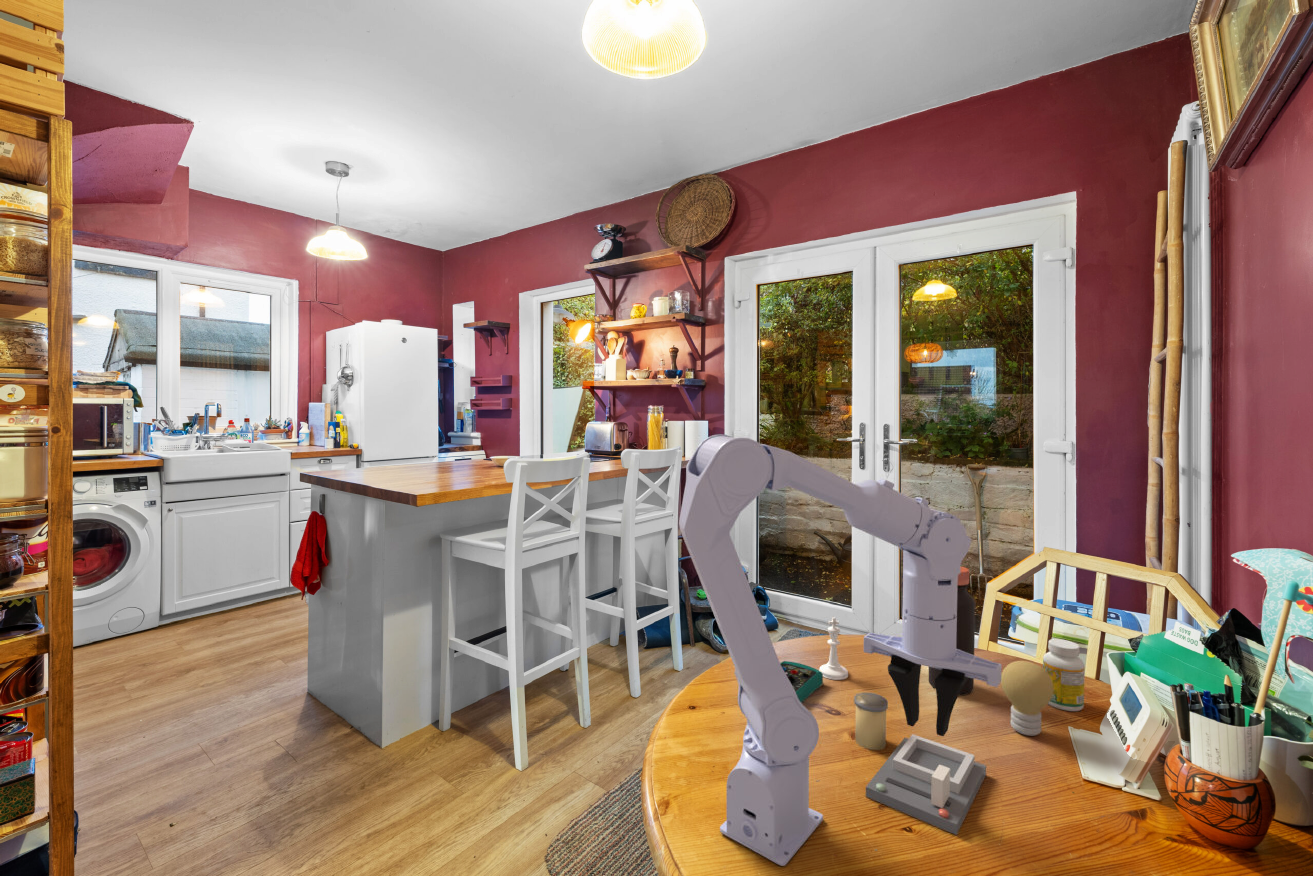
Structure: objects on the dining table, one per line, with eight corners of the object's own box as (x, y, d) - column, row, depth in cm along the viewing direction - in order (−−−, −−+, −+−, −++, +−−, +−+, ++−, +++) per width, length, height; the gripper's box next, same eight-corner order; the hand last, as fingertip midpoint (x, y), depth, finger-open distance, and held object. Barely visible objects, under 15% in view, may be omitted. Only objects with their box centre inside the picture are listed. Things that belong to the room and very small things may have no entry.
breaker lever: (942, 808, 67) (942, 780, 66) (931, 803, 67) (931, 776, 67) (949, 795, 69) (950, 768, 69) (938, 790, 70) (939, 764, 70)
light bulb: (1056, 730, 85) (1057, 662, 85) (1047, 749, 81) (1049, 677, 80) (1005, 715, 90) (1007, 650, 89) (994, 732, 85) (996, 663, 84)
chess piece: (852, 680, 101) (852, 622, 101) (823, 680, 101) (823, 622, 101) (843, 667, 106) (843, 612, 106) (815, 667, 106) (816, 613, 106)
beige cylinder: (880, 754, 79) (880, 711, 79) (848, 743, 82) (849, 700, 82) (891, 740, 83) (892, 699, 83) (861, 730, 86) (861, 689, 85)
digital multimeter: (824, 685, 101) (824, 667, 100) (785, 723, 88) (785, 703, 88) (783, 673, 105) (783, 656, 105) (740, 708, 93) (740, 689, 93)
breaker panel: (956, 835, 64) (956, 814, 64) (865, 796, 71) (865, 777, 71) (986, 774, 75) (986, 756, 75) (904, 745, 81) (904, 729, 81)
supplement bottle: (1089, 714, 90) (1091, 652, 89) (1049, 709, 91) (1051, 648, 91) (1074, 697, 95) (1076, 638, 94) (1037, 693, 96) (1038, 635, 96)
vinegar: (983, 691, 97) (985, 571, 96) (952, 699, 94) (955, 575, 94) (948, 674, 103) (950, 561, 102) (919, 681, 101) (920, 565, 100)
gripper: (1008, 616, 66) (1005, 734, 67) (878, 591, 76) (877, 695, 77) (994, 635, 61) (991, 762, 62) (857, 605, 71) (856, 716, 71)
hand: (927, 727), depth 69 cm, fingers open, 3 cm apart
